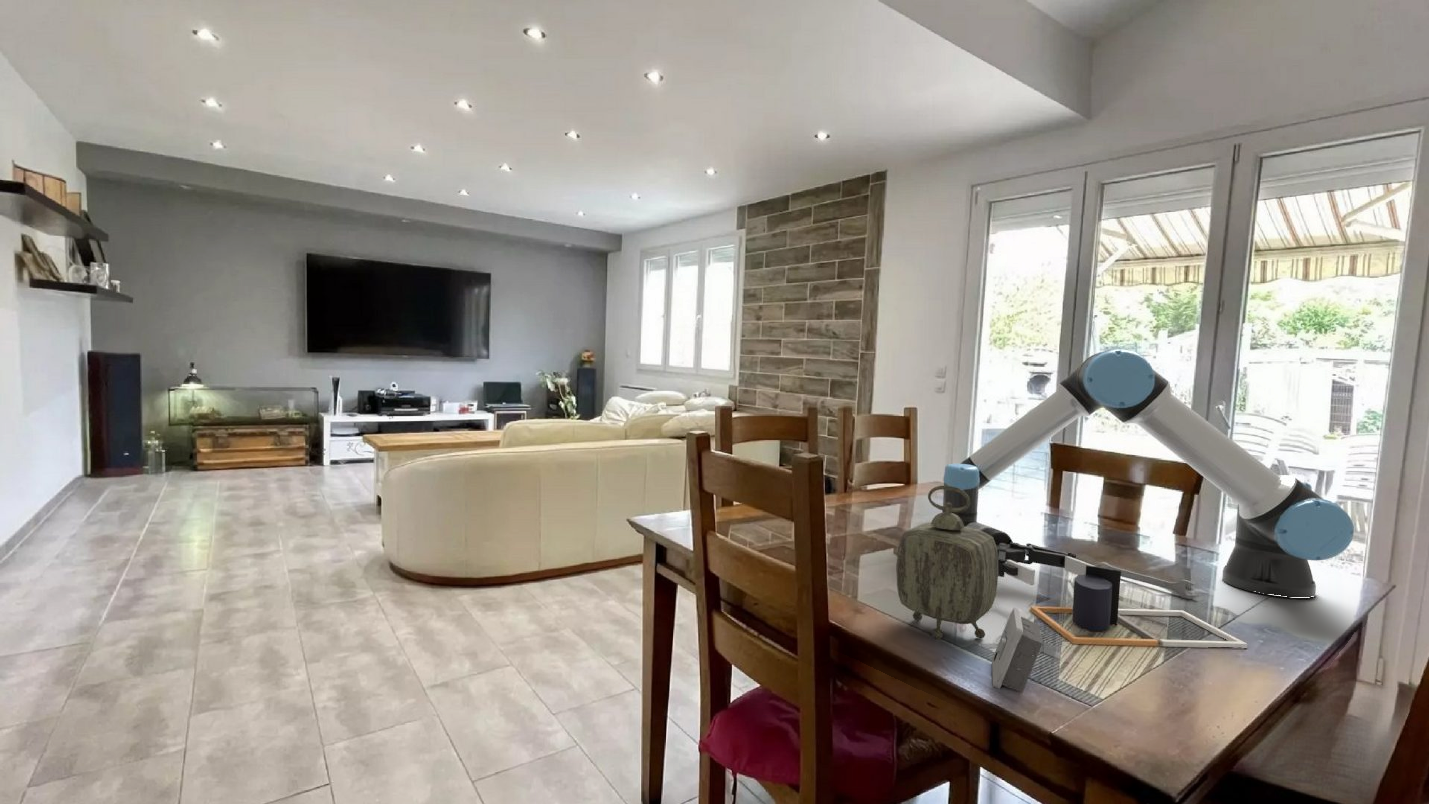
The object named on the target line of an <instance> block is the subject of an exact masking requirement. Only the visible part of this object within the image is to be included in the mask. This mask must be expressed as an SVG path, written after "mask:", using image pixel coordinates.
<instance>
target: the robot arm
mask: <svg viewBox="0 0 1429 804" xmlns="http://www.w3.org/2000/svg"><path fill="white" fill-rule="evenodd" d="M1101 408H1104V409H1105V410H1107V411H1108V412H1109V413H1111V414H1112V416H1114V417H1115V418H1116V419H1118V420H1119V421H1120V422H1122V423H1123V424H1136V425H1138V426H1139V427H1140V428H1141V429H1143V430H1144V431H1146V433H1147V434H1149V435H1151V437H1153V438H1154V439H1155V440H1156V441H1158V442H1159V443H1160V444H1162V445H1163V446H1165V447H1166V448H1167V449H1169V451H1170V452H1172V454H1174V455H1176V456H1177V457H1178V458H1179V459H1181V460H1182V461H1183V462H1184V463H1185V464H1187V465H1188V466H1190V467H1191V468H1192V469H1193V470H1194V471H1195V472H1197V473H1198V474H1199V475H1200V476H1202V477H1203V478H1204V479H1206V480H1207V481H1208V482H1210V484H1212V485H1213V486H1214V487H1216V488H1217V489H1218V490H1220V491H1221V492H1222V493H1223V494H1225V495H1226V496H1227V497H1229V498H1230V499H1232V501H1234V502H1235V503H1236V504H1237V509H1236V510H1237V511H1236V512H1237V513H1236V523H1235V524H1236V525H1235V526H1236V527H1235V541H1234V547H1233V548H1232V551H1231V552H1230V555H1229V557H1228V560H1227V563H1226V565H1224V567H1222V568H1223V569H1222V577H1221V579H1222V581H1223V582H1224V583H1227V584H1228V585H1230V586H1233V587H1236V588H1238V589H1241V588H1242V589H1241V590H1244V589H1245V591H1248V592H1251V591H1256V592H1260V593H1264V594H1263V595H1265V594H1274V595H1281V596H1287V597H1311V596H1314V595H1315V596H1316V591H1317V584H1316V581H1314V578H1313V574H1312V570H1311V565H1310V564H1309V561H1325V560H1329V559H1333V558H1335V557H1337V556H1339V555H1340V554H1342V553H1344V551H1346V549H1347V548H1348V547H1349V546H1350V544H1352V540H1353V538H1354V532H1355V531H1354V523H1353V520H1352V519H1351V516H1350V515H1349V514H1348V512H1346V510H1344V509H1343V508H1342V507H1341V506H1340V505H1338V504H1337V503H1335V502H1332V501H1331V500H1328V499H1324V498H1323V497H1321V496H1320V495H1319V494H1317V493H1316V492H1314V491H1313V489H1312V485H1311V483H1308V482H1301V481H1300V480H1299V479H1297V478H1296V477H1295V476H1293V475H1290V474H1287V475H1285V474H1284V475H1283V474H1277V473H1275V472H1274V471H1273V470H1272V469H1270V468H1269V467H1267V465H1265V464H1264V463H1262V462H1261V461H1260V460H1258V459H1257V458H1256V457H1255V456H1254V455H1252V454H1250V453H1249V452H1248V451H1247V450H1245V449H1244V448H1243V447H1241V446H1240V445H1239V444H1238V443H1237V442H1236V441H1234V440H1232V439H1231V438H1230V437H1229V436H1227V435H1226V434H1224V433H1223V432H1222V431H1221V430H1219V429H1218V428H1217V427H1216V426H1214V425H1213V424H1212V423H1210V422H1209V421H1207V420H1206V419H1205V418H1204V417H1203V416H1201V415H1200V414H1199V413H1197V412H1196V411H1195V410H1193V409H1192V408H1191V407H1190V406H1188V405H1187V404H1185V403H1184V402H1183V401H1182V400H1181V399H1180V398H1178V397H1176V396H1175V395H1174V394H1172V392H1171V382H1170V381H1169V380H1168V379H1166V378H1165V377H1164V376H1162V375H1161V374H1159V372H1157V371H1156V370H1155V369H1153V367H1152V365H1151V363H1150V362H1148V360H1147V359H1146V358H1145V357H1143V356H1142V355H1141V354H1139V353H1137V352H1135V351H1132V350H1128V349H1123V348H1122V349H1121V348H1119V349H1118V348H1111V349H1107V350H1104V351H1101V352H1097V353H1094V354H1093V355H1090V356H1089V357H1087V358H1086V359H1085V360H1084V361H1083V362H1082V363H1080V364H1079V365H1078V366H1077V368H1076V369H1074V371H1073V372H1072V373H1070V374H1069V375H1068V376H1067V377H1066V378H1064V379H1063V380H1062V381H1061V382H1059V383H1058V385H1057V390H1056V391H1054V392H1053V393H1052V394H1051V395H1049V396H1048V397H1047V398H1045V399H1044V400H1043V401H1042V402H1040V403H1038V404H1037V405H1036V406H1035V407H1034V408H1032V409H1030V411H1028V412H1027V413H1026V414H1024V415H1023V416H1020V418H1019V419H1017V420H1016V421H1015V422H1014V423H1012V424H1011V425H1010V426H1008V427H1007V428H1006V429H1004V430H1003V431H1001V432H1000V433H998V435H996V436H995V437H994V438H992V439H991V440H989V441H988V442H987V443H985V444H984V445H983V446H981V447H980V448H979V449H977V450H976V451H974V453H972V454H971V455H970V456H968V457H966V459H964V460H962V462H960V463H949V464H946V465H945V467H944V472H943V473H944V474H943V480H942V481H943V486H953V487H956V488H959V489H961V490H963V491H964V492H965V493H966V494H967V495H968V496H969V499H970V505H969V507H968V508H967V509H966V510H964V511H960V512H951V513H953V514H956V515H957V516H958V517H959V518H960V519H961V520H962V522H963V524H964V527H968V528H972V529H976V530H980V531H982V532H985V533H987V534H988V535H990V536H992V537H993V539H994V541H995V544H996V547H997V553H998V578H1004V577H1005V574H1006V575H1007V576H1009V577H1012V578H1013V579H1016V580H1018V581H1020V582H1023V583H1026V584H1027V585H1030V586H1035V579H1036V570H1035V569H1033V568H1031V567H1028V566H1026V565H1032V564H1033V563H1034V564H1040V565H1045V566H1051V567H1056V568H1061V569H1064V571H1066V572H1070V573H1072V574H1073V575H1076V576H1078V575H1085V574H1086V565H1090V566H1095V565H1094V564H1091V563H1088V562H1086V561H1083V560H1080V559H1077V554H1076V553H1072V551H1068V552H1066V551H1061V550H1056V549H1053V548H1047V547H1043V546H1040V545H1039V546H1038V545H1036V544H1032V543H1026V545H1023V544H1020V543H1019V542H1018V543H1017V542H1014V541H1013V539H1012V538H1011V536H1010V535H1009V534H1007V532H1005V531H1002V530H1000V529H997V528H994V527H992V526H989V525H986V524H983V523H980V522H978V503H979V490H980V489H981V488H983V487H985V486H986V485H987V484H988V483H990V482H991V481H992V480H994V479H995V478H997V476H999V475H1000V474H1002V473H1003V472H1005V471H1006V470H1008V469H1009V468H1010V467H1012V466H1013V465H1014V464H1016V463H1017V462H1019V461H1020V460H1021V459H1023V458H1024V457H1027V456H1028V454H1030V453H1031V452H1033V451H1034V450H1035V449H1037V448H1038V447H1040V446H1041V445H1042V444H1044V443H1045V442H1046V441H1048V440H1049V439H1051V438H1052V437H1053V436H1055V435H1056V434H1058V433H1059V432H1061V431H1062V430H1063V429H1065V428H1066V427H1067V426H1069V425H1070V424H1071V423H1073V422H1075V421H1076V420H1077V419H1079V417H1082V416H1084V417H1090V415H1092V414H1093V413H1094V412H1096V411H1098V410H1100V409H1101ZM942 491H943V493H942V494H943V495H942V496H943V497H942V506H944V507H945V504H946V503H948V502H949V503H951V504H952V508H962V507H964V506H966V505H967V499H966V498H965V497H964V496H963V495H962V494H961V493H959V492H956V491H952V490H944V489H942ZM941 511H942V512H941V513H944V512H945V511H943V510H941ZM1026 557H1027V559H1026ZM1024 564H1025V565H1024ZM1260 593H1259V594H1260Z"/></svg>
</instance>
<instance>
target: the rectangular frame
mask: <svg viewBox="0 0 1429 804" xmlns="http://www.w3.org/2000/svg"><path fill="white" fill-rule="evenodd" d="M1029 607H1030V609H1029V611H1030V612H1031V613H1033V614H1034V615H1035V616H1037V617H1038V618H1039V619H1040V620H1042V621H1044V622H1045V623H1046V624H1047V625H1048V626H1050V627H1051V628H1052V629H1053V630H1055V631H1056V632H1057V633H1059V634H1060V635H1061V636H1062V637H1064V638H1065V639H1066V640H1068V641H1069V642H1070V643H1072V644H1073V645H1101V646H1104V645H1106V646H1108V645H1109V646H1135V647H1136V646H1137V647H1139V646H1142V647H1144V646H1145V647H1170V648H1171V647H1175V648H1178V647H1179V648H1181V647H1182V648H1208V647H1243V648H1242V649H1244V648H1247V649H1248V643H1246V642H1244V640H1241V639H1239V638H1237V637H1235V636H1233V635H1231V634H1229V633H1227V632H1225V631H1223V630H1222V629H1219V628H1217V627H1216V626H1214V625H1212V624H1210V623H1208V622H1206V621H1205V620H1202V619H1200V618H1198V617H1197V616H1194V615H1193V614H1190V613H1188V612H1187V611H1185V610H1183V609H1182V610H1179V609H1177V610H1176V609H1175V610H1174V609H1147V608H1146V609H1144V608H1143V609H1142V608H1118V620H1117V622H1119V623H1120V624H1121V625H1123V626H1125V627H1126V628H1128V629H1130V630H1132V632H1134V633H1137V634H1138V635H1140V636H1141V637H1142V638H1123V637H1122V638H1119V637H1087V636H1086V637H1083V636H1082V637H1080V636H1075V635H1074V634H1072V633H1071V632H1070V631H1068V630H1067V629H1066V628H1064V627H1063V626H1062V625H1061V624H1059V623H1058V622H1056V621H1055V620H1054V619H1052V618H1051V617H1050V616H1048V615H1047V614H1046V613H1048V614H1049V613H1051V614H1052V613H1053V614H1055V613H1057V614H1073V606H1071V607H1070V606H1069V607H1067V606H1066V607H1065V606H1040V605H1039V606H1038V605H1037V606H1035V605H1034V606H1033V605H1032V606H1031V605H1030V606H1029ZM1122 615H1124V616H1126V615H1127V616H1128V615H1129V616H1132V615H1133V616H1158V617H1159V616H1162V617H1163V616H1164V617H1168V616H1169V617H1182V618H1184V619H1185V620H1188V621H1190V622H1192V623H1194V624H1196V625H1197V626H1199V627H1201V628H1203V629H1205V630H1207V631H1208V632H1210V633H1212V634H1214V635H1215V636H1218V637H1220V638H1221V637H1222V639H1223V638H1224V639H1223V640H1194V639H1193V640H1192V639H1190V640H1189V639H1188V640H1187V639H1160V638H1158V637H1156V636H1155V635H1153V634H1151V633H1150V632H1148V631H1147V630H1146V629H1143V628H1142V627H1140V626H1139V625H1138V624H1136V623H1133V622H1132V621H1131V620H1129V619H1127V618H1125V617H1124V616H1122ZM1225 639H1226V640H1225ZM1224 640H1225V641H1224Z"/></svg>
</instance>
